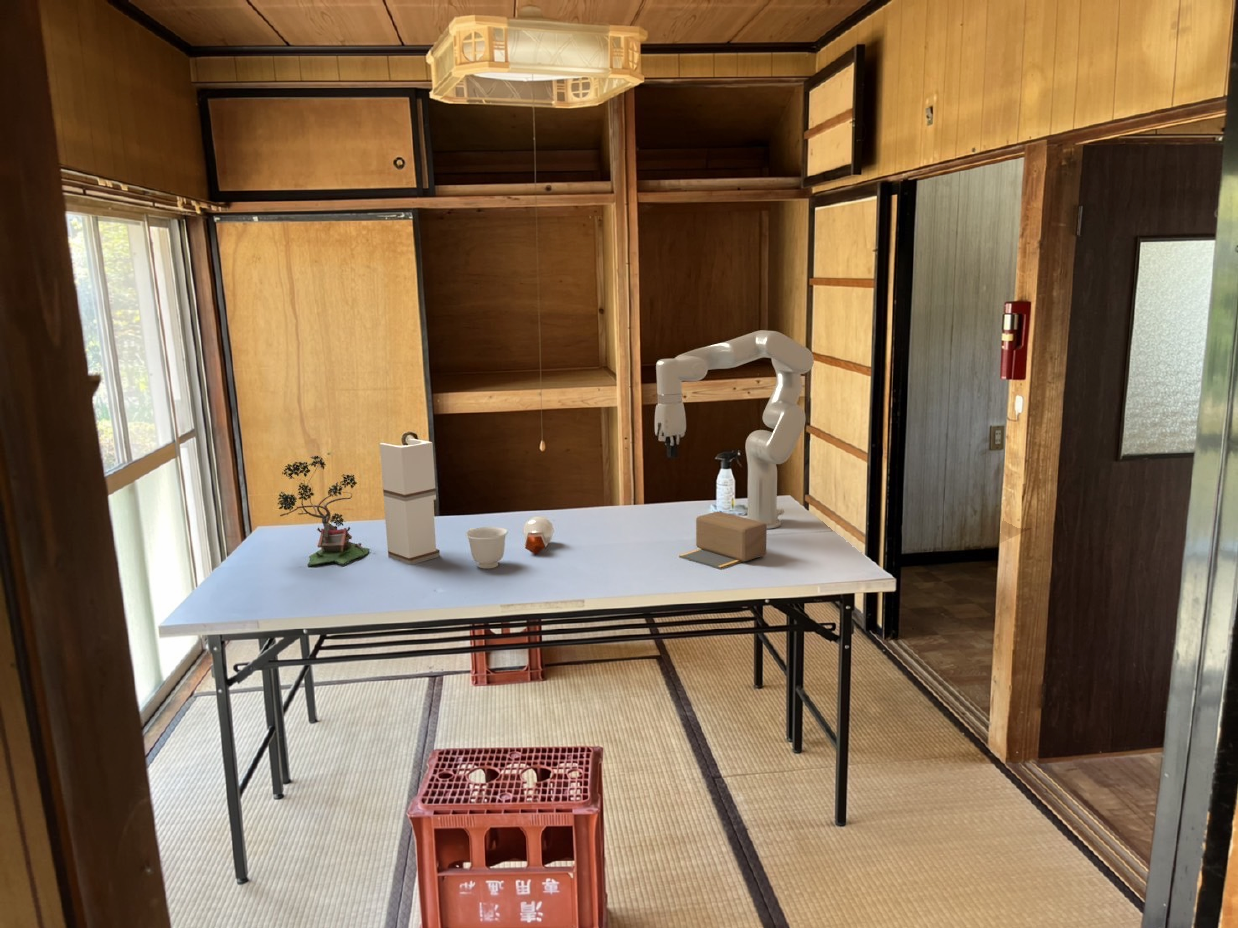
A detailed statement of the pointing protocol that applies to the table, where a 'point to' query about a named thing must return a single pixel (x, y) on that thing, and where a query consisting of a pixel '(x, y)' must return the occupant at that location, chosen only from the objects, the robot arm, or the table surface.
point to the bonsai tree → (325, 520)
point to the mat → (710, 558)
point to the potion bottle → (537, 534)
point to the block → (731, 535)
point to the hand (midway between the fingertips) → (672, 456)
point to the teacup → (487, 545)
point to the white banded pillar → (409, 500)
